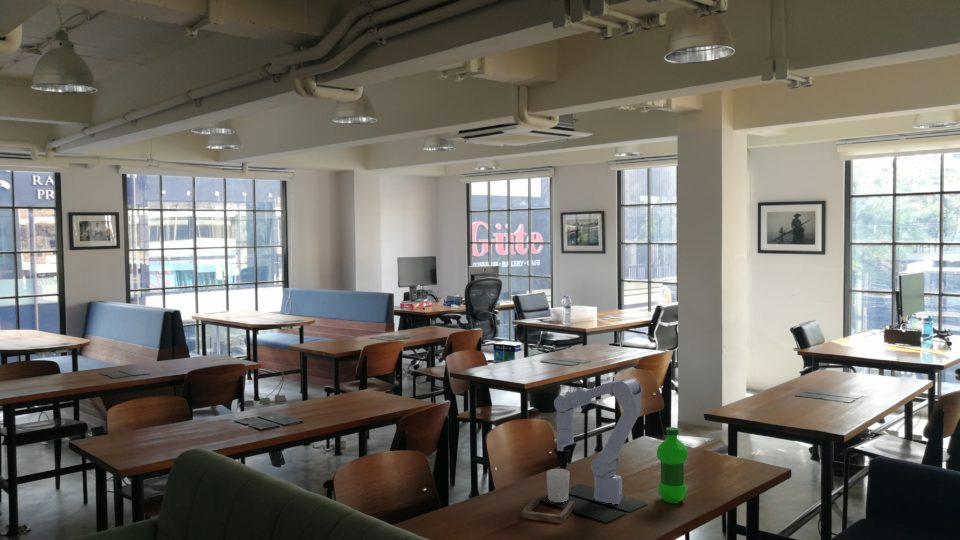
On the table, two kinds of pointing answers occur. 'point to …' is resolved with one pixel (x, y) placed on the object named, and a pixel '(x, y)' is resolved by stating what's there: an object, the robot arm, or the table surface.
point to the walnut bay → (560, 518)
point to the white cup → (558, 485)
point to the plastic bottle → (672, 467)
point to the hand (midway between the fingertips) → (565, 465)
